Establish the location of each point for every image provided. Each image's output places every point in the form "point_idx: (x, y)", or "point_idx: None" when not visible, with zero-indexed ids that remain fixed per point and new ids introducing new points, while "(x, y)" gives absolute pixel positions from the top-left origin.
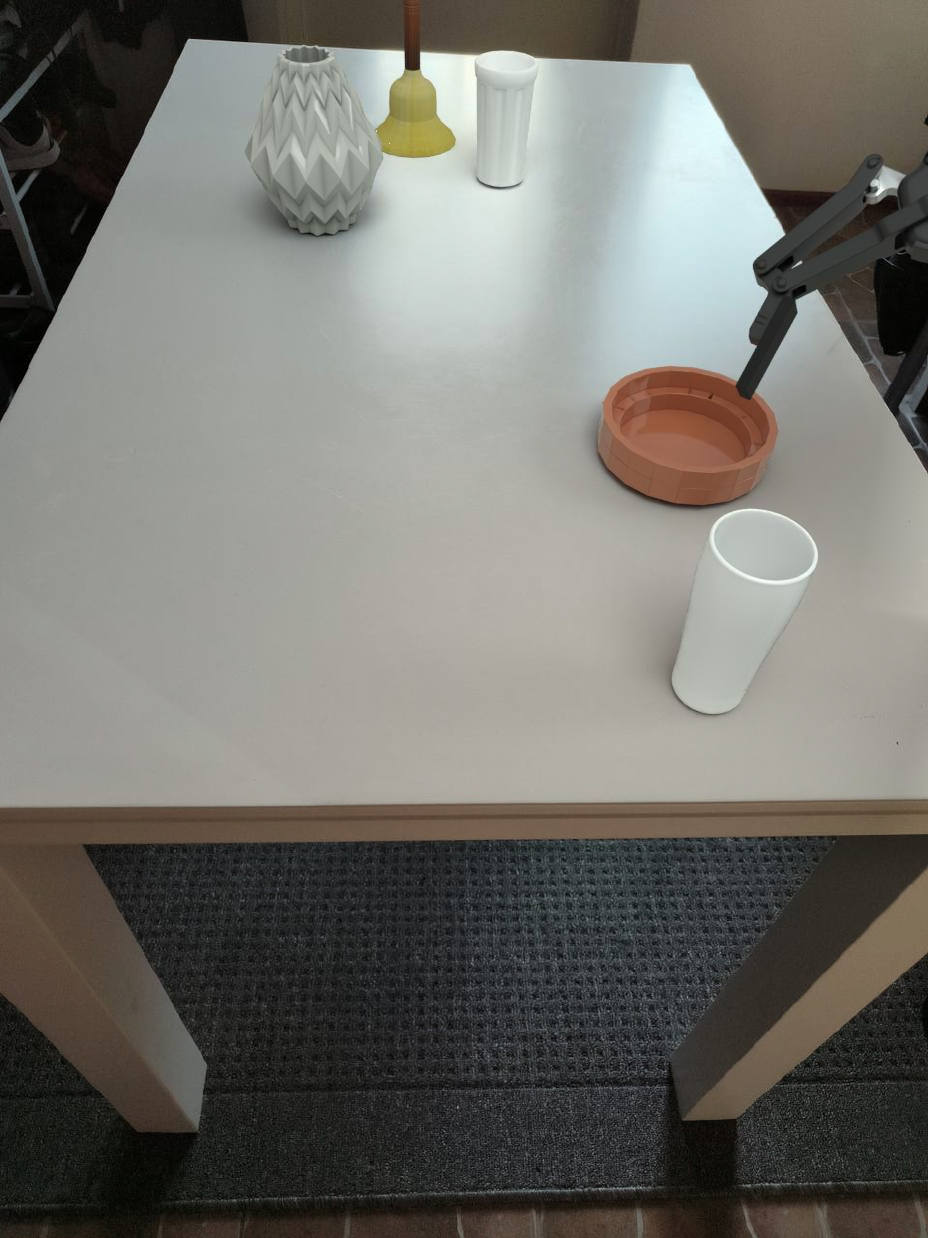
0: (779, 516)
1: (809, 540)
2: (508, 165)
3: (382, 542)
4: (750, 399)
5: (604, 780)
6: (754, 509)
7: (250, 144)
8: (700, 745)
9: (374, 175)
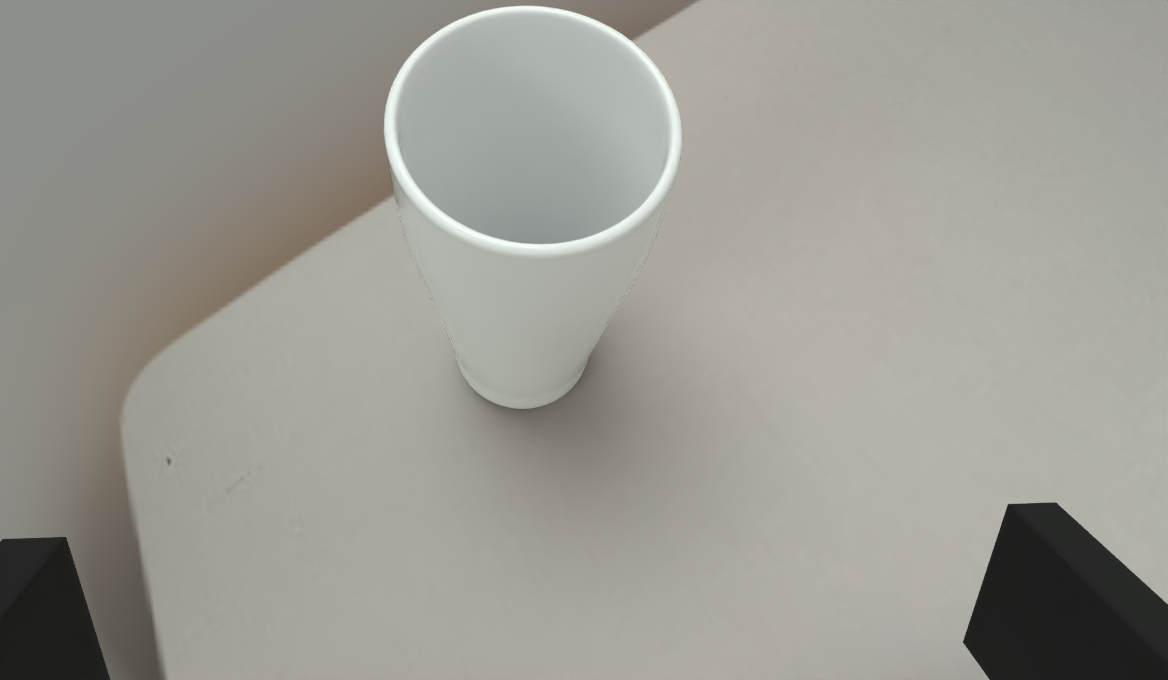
0: (553, 244)
1: (438, 208)
2: None
3: (1141, 276)
4: (965, 642)
5: None
6: (624, 219)
7: None
8: None
9: None
